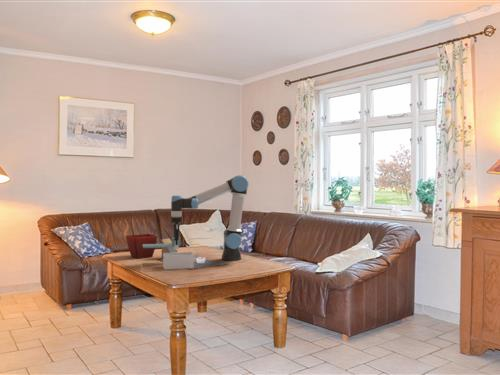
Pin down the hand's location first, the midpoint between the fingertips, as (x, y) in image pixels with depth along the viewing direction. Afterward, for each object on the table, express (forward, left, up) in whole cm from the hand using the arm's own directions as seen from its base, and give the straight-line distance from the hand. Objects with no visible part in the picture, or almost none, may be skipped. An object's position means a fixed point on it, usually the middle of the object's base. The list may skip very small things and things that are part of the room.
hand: (176, 248), depth 325 cm
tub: (0, +18, -11) cm, 21 cm away
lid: (+10, 0, +2) cm, 11 cm away
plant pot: (+24, -35, -11) cm, 44 cm away
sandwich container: (+1, -21, -11) cm, 24 cm away
